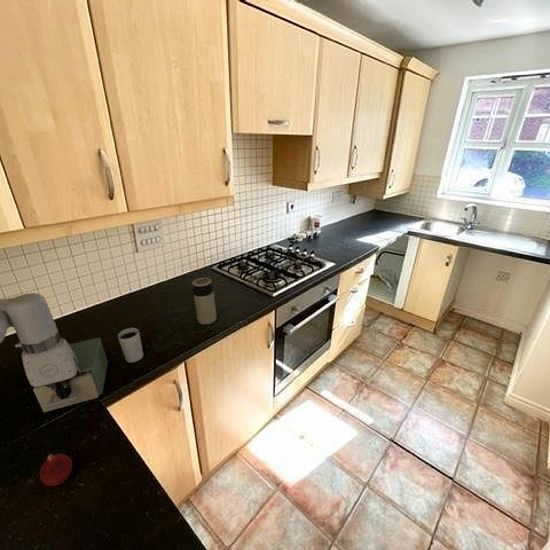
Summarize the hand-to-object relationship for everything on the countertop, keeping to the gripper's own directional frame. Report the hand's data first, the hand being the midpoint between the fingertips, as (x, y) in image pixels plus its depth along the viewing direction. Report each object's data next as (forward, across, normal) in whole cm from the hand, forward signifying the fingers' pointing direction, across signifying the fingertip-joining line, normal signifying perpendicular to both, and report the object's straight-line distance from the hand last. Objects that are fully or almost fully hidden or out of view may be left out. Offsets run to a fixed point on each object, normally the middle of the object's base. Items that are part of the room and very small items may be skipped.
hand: (66, 396), depth 82 cm
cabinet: (+6, 0, +12) cm, 13 cm away
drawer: (+5, 0, +7) cm, 8 cm away
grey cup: (+6, +16, +19) cm, 25 cm away
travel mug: (+7, +44, +33) cm, 55 cm away
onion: (+6, +2, -21) cm, 22 cm away
